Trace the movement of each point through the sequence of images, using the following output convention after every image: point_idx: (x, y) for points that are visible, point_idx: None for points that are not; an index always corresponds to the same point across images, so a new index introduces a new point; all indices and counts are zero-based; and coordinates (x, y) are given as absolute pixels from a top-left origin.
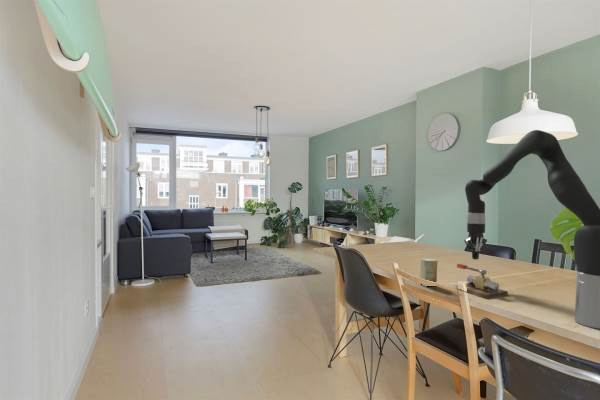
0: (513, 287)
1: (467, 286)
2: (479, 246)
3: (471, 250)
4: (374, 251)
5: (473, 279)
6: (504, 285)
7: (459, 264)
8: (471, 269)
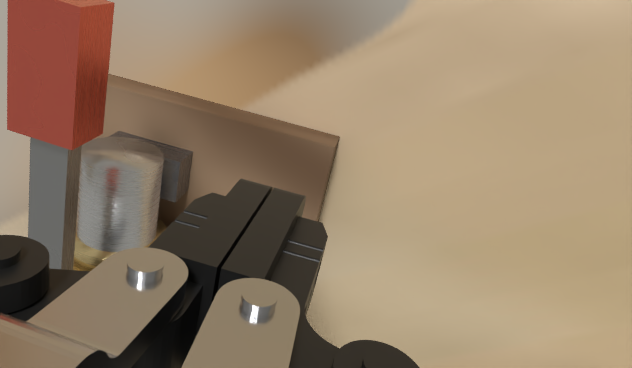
0: (578, 347)
1: (108, 136)
2: None
3: (129, 250)
4: None
5: (77, 218)
6: (596, 280)
7: (13, 36)
8: (36, 228)
